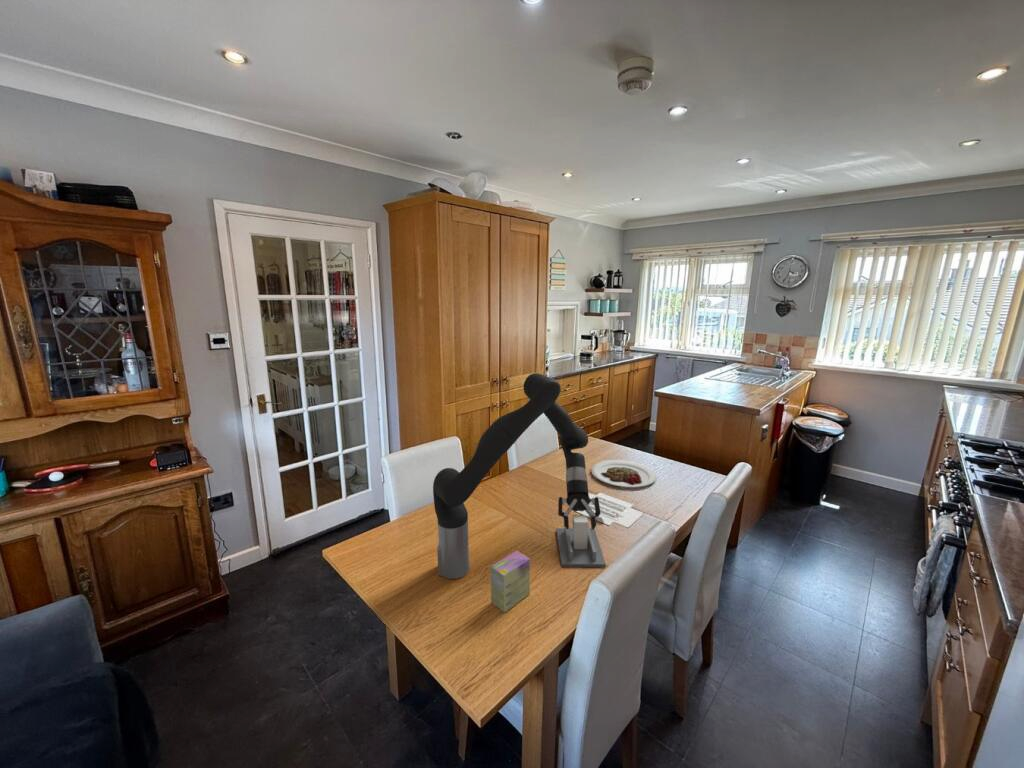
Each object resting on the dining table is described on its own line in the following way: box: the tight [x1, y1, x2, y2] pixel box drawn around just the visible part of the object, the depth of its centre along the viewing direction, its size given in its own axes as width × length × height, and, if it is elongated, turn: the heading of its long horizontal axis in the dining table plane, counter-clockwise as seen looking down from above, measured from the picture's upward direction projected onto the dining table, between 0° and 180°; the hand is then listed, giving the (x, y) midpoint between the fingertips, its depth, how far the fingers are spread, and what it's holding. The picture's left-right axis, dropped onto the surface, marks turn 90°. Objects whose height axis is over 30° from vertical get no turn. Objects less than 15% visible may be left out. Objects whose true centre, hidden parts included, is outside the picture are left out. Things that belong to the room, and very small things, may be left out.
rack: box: [555, 524, 607, 568], centre depth 138 cm, size 14×20×4 cm
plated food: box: [590, 459, 657, 489], centre depth 193 cm, size 30×30×3 cm
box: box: [490, 550, 531, 613], centre depth 114 cm, size 10×6×12 cm, turn 134°
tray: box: [575, 492, 644, 529], centre depth 164 cm, size 20×28×4 cm
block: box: [571, 514, 589, 549], centre depth 137 cm, size 4×4×10 cm
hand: (580, 528), depth 136 cm, fingers open, 8 cm apart
